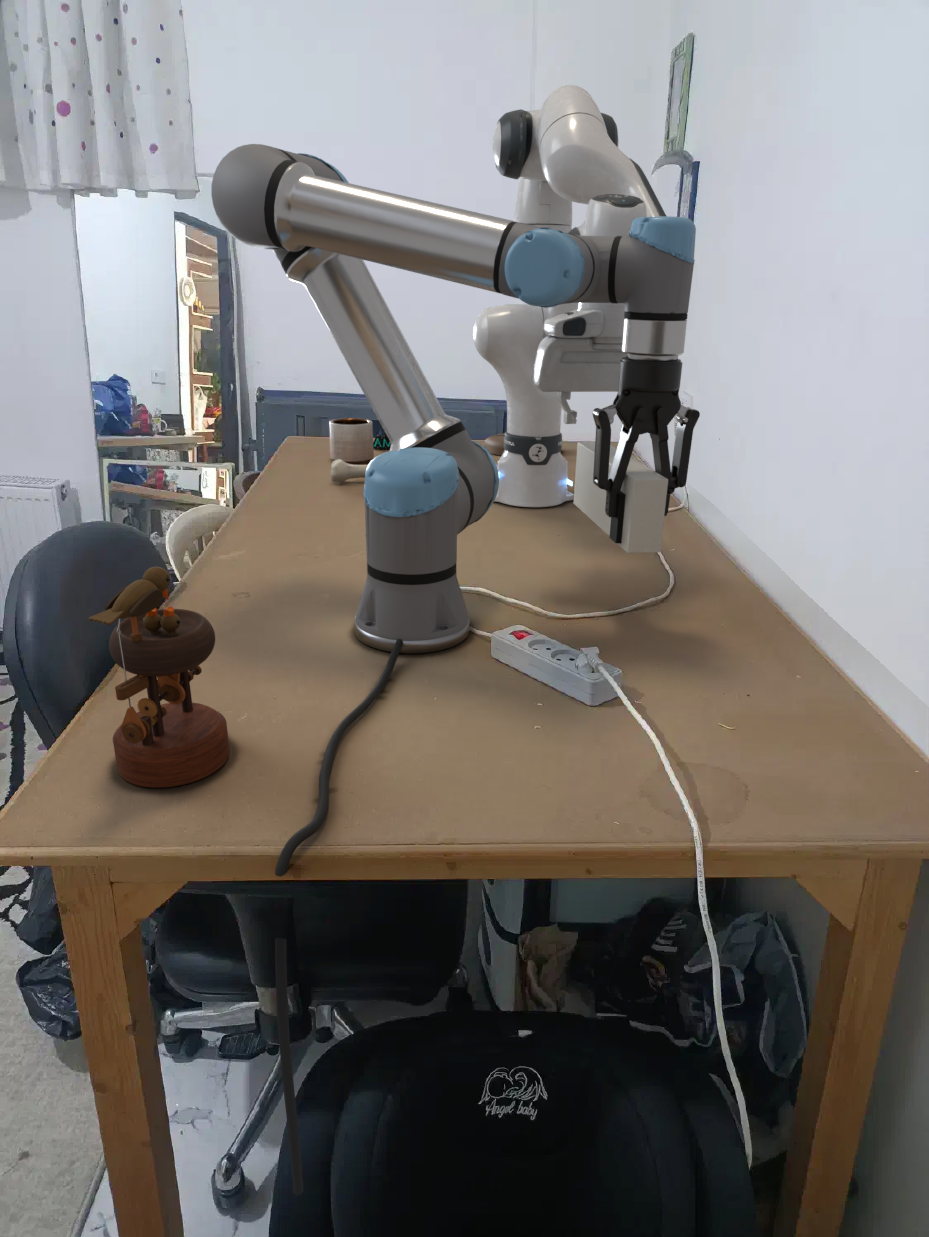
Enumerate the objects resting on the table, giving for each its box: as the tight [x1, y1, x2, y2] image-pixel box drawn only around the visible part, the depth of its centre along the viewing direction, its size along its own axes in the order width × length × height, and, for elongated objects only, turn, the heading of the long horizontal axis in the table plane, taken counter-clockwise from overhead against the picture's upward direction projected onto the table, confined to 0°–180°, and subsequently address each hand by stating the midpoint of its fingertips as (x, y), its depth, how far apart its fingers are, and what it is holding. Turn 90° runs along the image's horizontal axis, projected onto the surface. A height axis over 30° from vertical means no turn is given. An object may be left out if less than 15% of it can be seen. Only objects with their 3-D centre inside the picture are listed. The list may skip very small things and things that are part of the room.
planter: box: [328, 417, 375, 464], centre depth 212 cm, size 11×11×10 cm
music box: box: [88, 566, 230, 788], centre depth 80 cm, size 15×11×20 cm
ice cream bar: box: [483, 432, 562, 457], centre depth 222 cm, size 21×28×4 cm
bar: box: [573, 441, 668, 554], centre depth 118 cm, size 25×4×10 cm, turn 9°
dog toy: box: [329, 459, 368, 483], centre depth 191 cm, size 20×6×5 cm, turn 99°
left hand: (633, 539), depth 112 cm, fingers closed on bar, 4 cm apart
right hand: (601, 423), depth 123 cm, fingers open, 8 cm apart
